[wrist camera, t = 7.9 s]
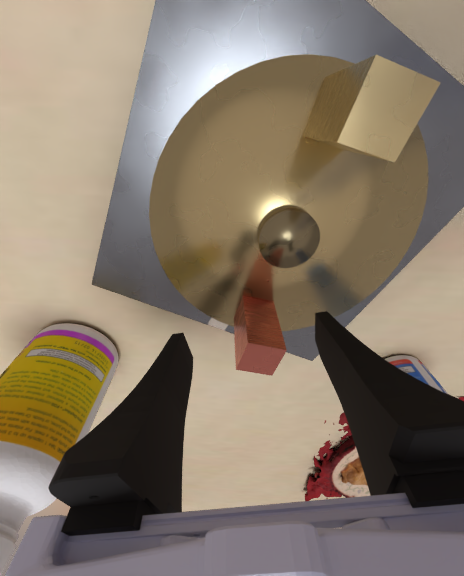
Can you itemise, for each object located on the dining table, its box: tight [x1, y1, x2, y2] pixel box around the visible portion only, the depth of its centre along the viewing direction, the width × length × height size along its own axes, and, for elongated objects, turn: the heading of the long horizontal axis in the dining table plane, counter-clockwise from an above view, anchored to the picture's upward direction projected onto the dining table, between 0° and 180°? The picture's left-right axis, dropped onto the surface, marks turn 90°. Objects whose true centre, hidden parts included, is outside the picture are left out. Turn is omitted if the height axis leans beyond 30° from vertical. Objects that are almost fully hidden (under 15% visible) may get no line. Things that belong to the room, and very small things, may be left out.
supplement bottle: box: [0, 323, 119, 576], centre depth 16 cm, size 7×7×13 cm
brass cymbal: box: [149, 54, 441, 375], centre depth 12 cm, size 14×14×6 cm
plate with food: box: [305, 397, 464, 501], centre depth 32 cm, size 25×26×4 cm
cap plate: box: [92, 0, 464, 361], centre depth 15 cm, size 18×18×1 cm
